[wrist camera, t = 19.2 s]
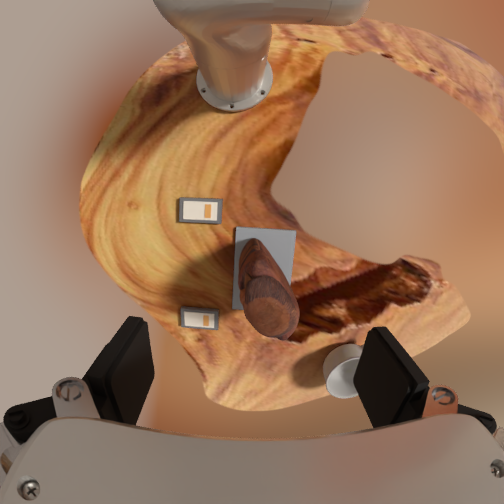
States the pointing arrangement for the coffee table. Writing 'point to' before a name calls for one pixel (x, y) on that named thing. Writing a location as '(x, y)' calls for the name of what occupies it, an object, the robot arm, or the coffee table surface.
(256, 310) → the wooden figurine
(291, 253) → the mat
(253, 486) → the robot arm
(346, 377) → the teacup
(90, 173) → the coffee table surface
